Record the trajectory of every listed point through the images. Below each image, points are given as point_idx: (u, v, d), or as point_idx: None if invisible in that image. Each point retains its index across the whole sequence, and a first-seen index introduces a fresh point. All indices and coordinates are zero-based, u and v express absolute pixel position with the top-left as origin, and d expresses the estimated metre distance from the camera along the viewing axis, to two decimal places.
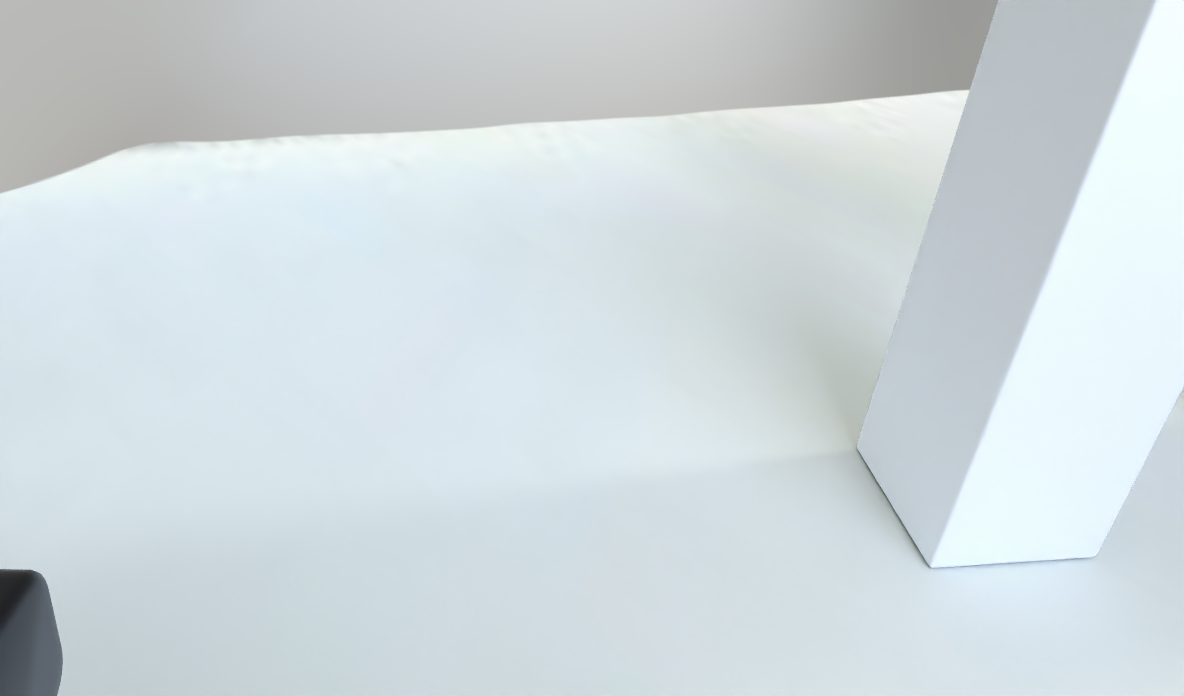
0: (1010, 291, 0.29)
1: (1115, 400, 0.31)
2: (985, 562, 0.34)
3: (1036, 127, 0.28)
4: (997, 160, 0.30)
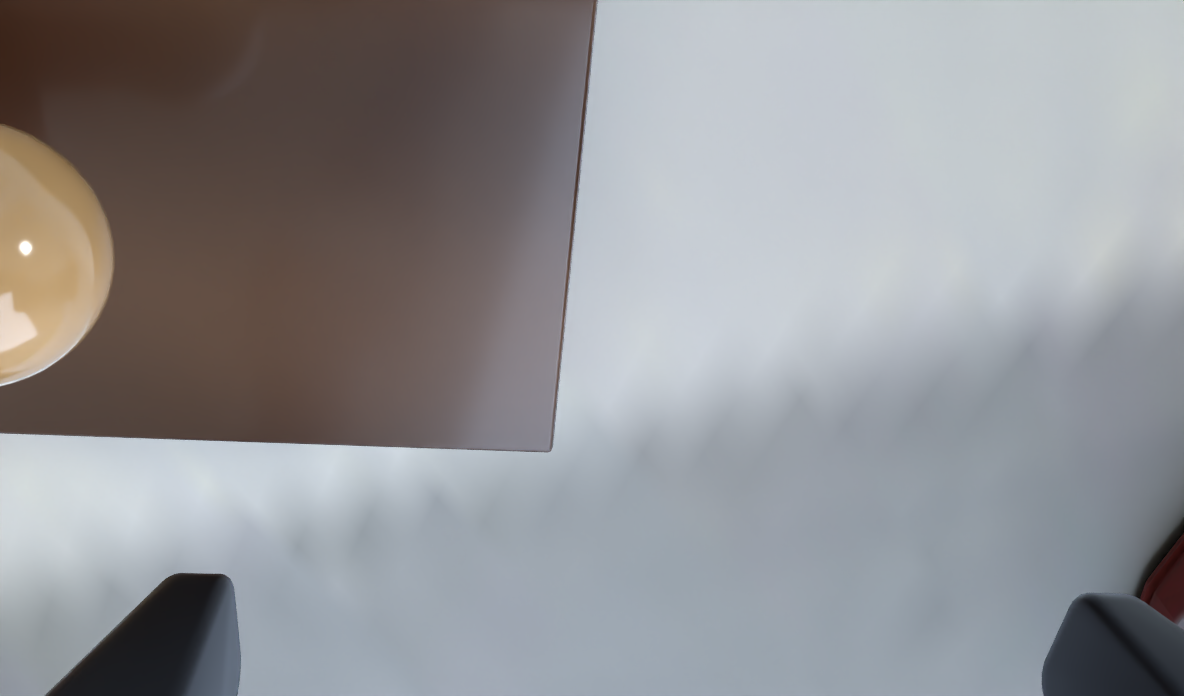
0: None
1: None
2: None
3: None
4: None
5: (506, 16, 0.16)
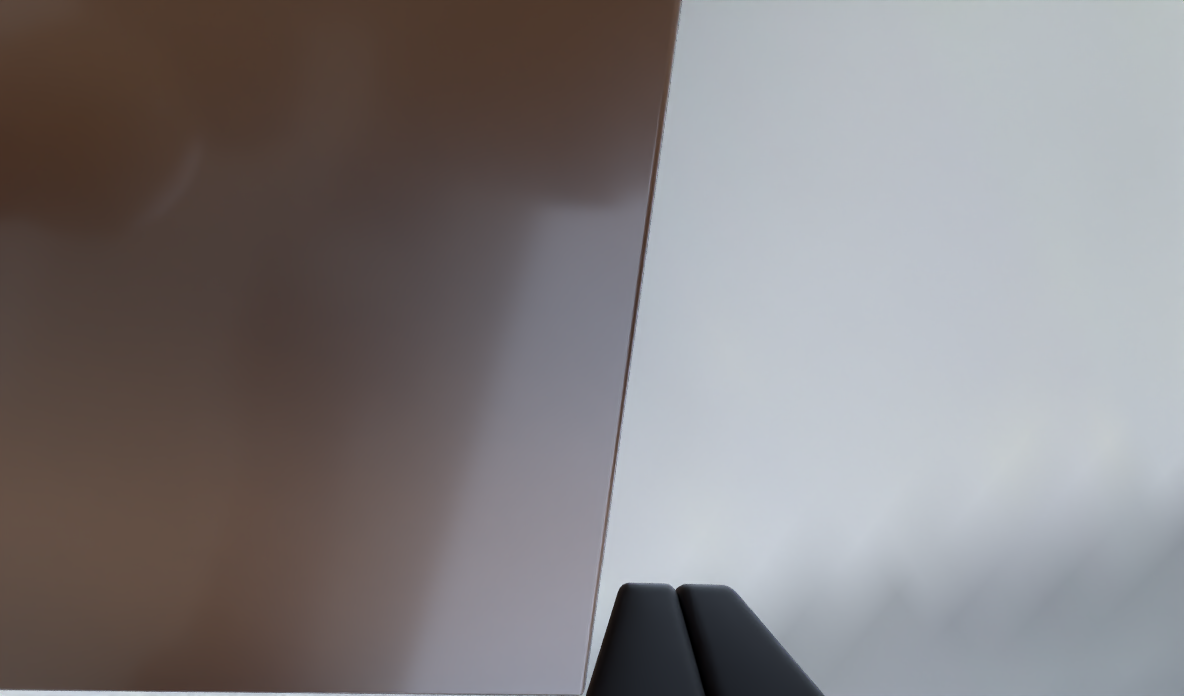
0: None
1: None
2: None
3: None
4: None
5: (530, 162, 0.11)
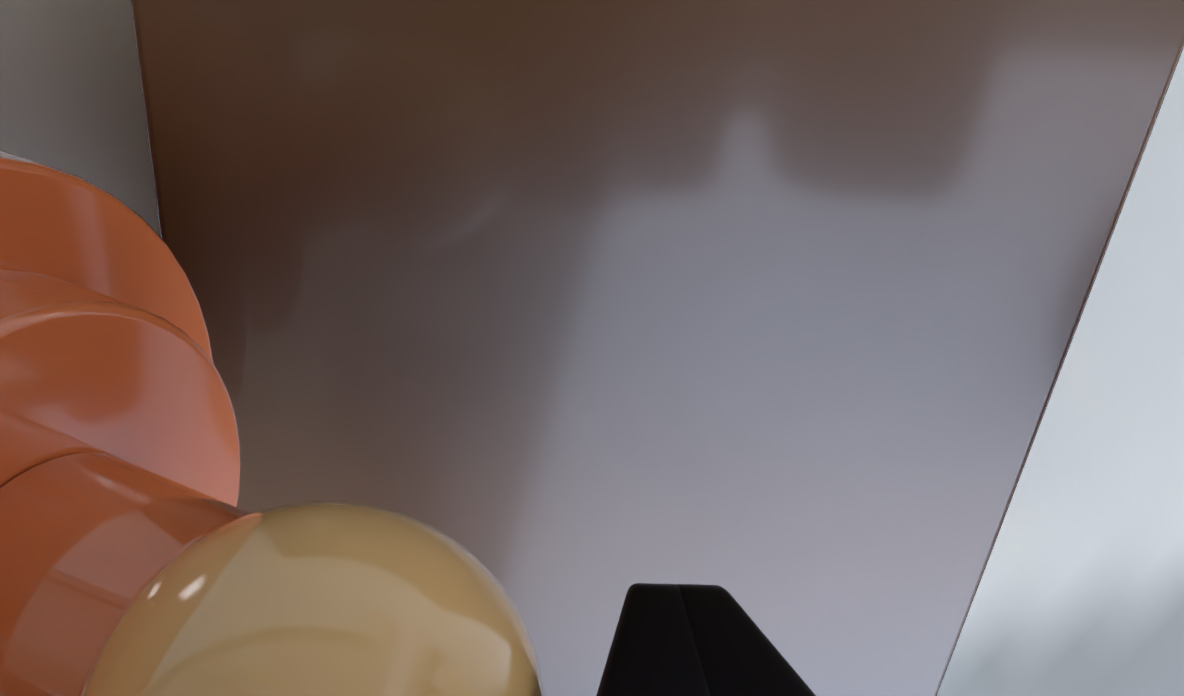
0: None
1: None
2: None
3: None
4: None
5: (1010, 204, 0.11)
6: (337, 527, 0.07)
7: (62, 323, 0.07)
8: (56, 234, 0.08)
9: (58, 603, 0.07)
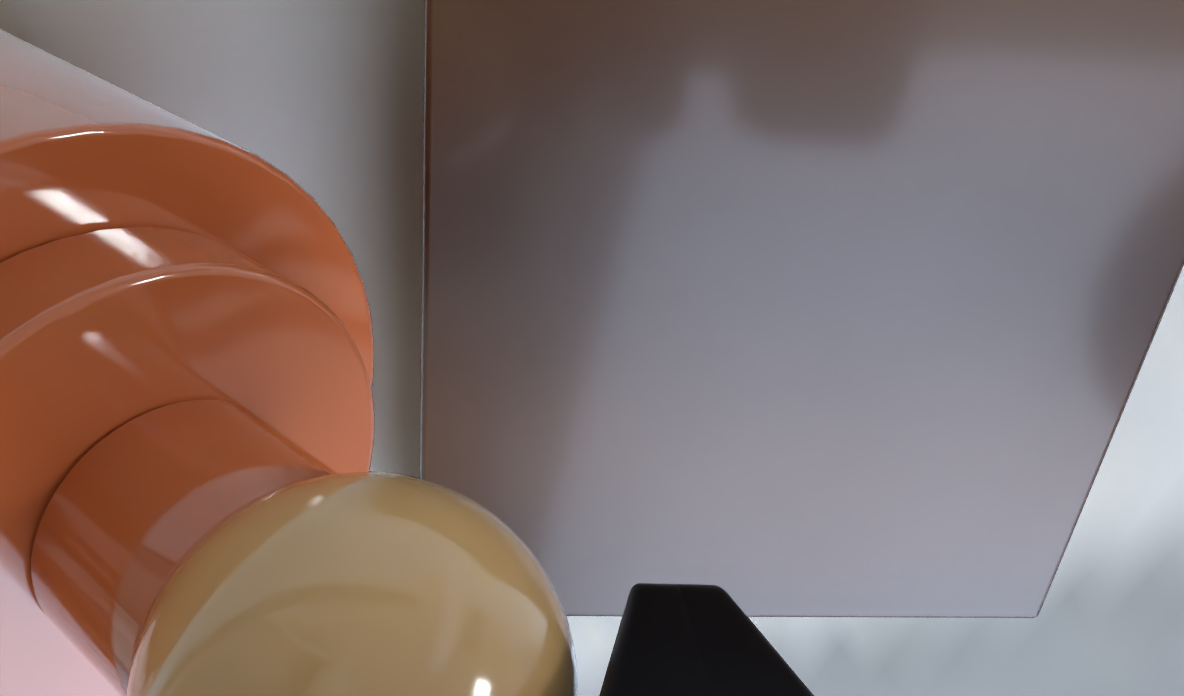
0: None
1: None
2: None
3: None
4: None
5: (1131, 162, 0.13)
6: (389, 497, 0.07)
7: (205, 280, 0.08)
8: (229, 205, 0.09)
9: (149, 525, 0.07)
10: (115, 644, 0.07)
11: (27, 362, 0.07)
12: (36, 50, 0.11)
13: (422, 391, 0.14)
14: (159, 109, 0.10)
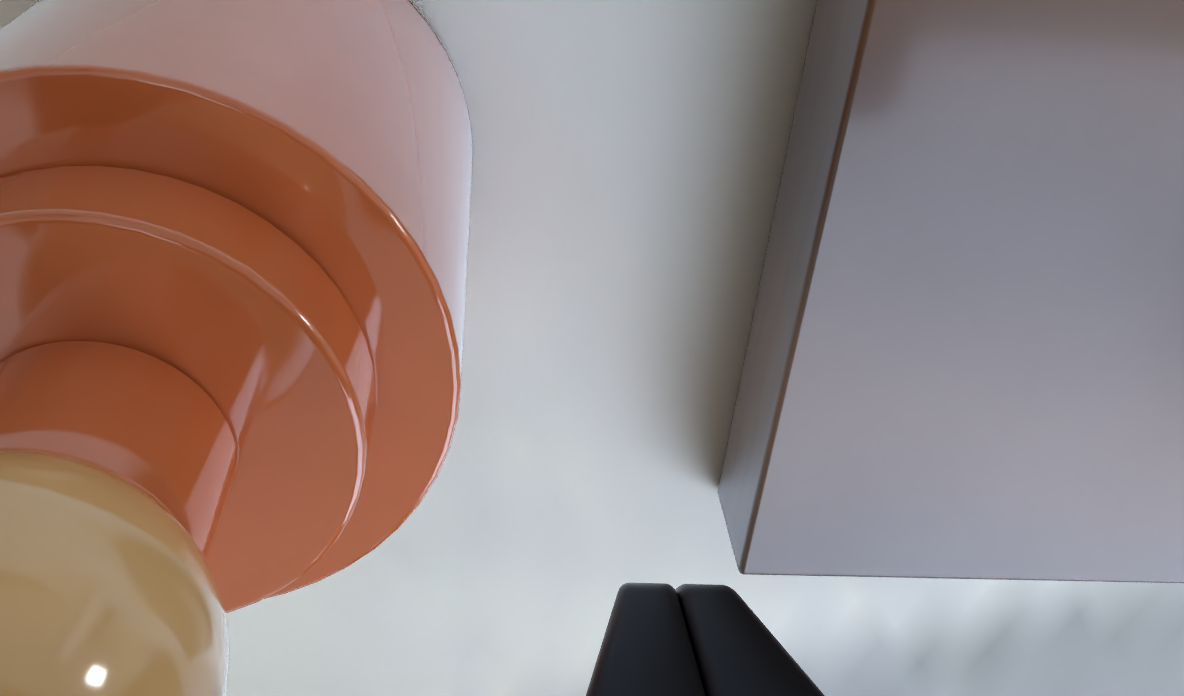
0: None
1: None
2: None
3: None
4: None
5: None
6: (4, 500, 0.07)
7: (148, 240, 0.08)
8: (282, 187, 0.09)
9: None
10: None
11: None
12: (319, 15, 0.12)
13: (787, 361, 0.15)
14: (292, 83, 0.10)
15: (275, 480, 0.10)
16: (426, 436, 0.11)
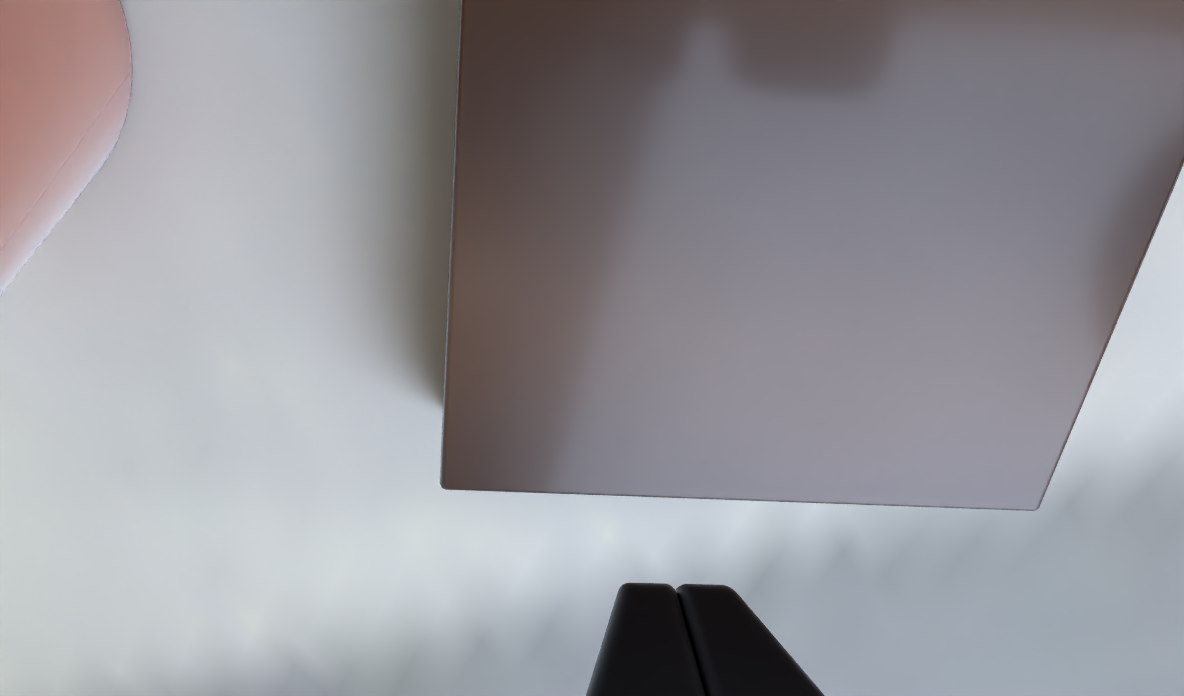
0: None
1: None
2: None
3: None
4: None
5: (1141, 43, 0.14)
6: None
7: None
8: None
9: None
10: None
11: None
12: None
13: (451, 258, 0.15)
14: None
15: None
16: None
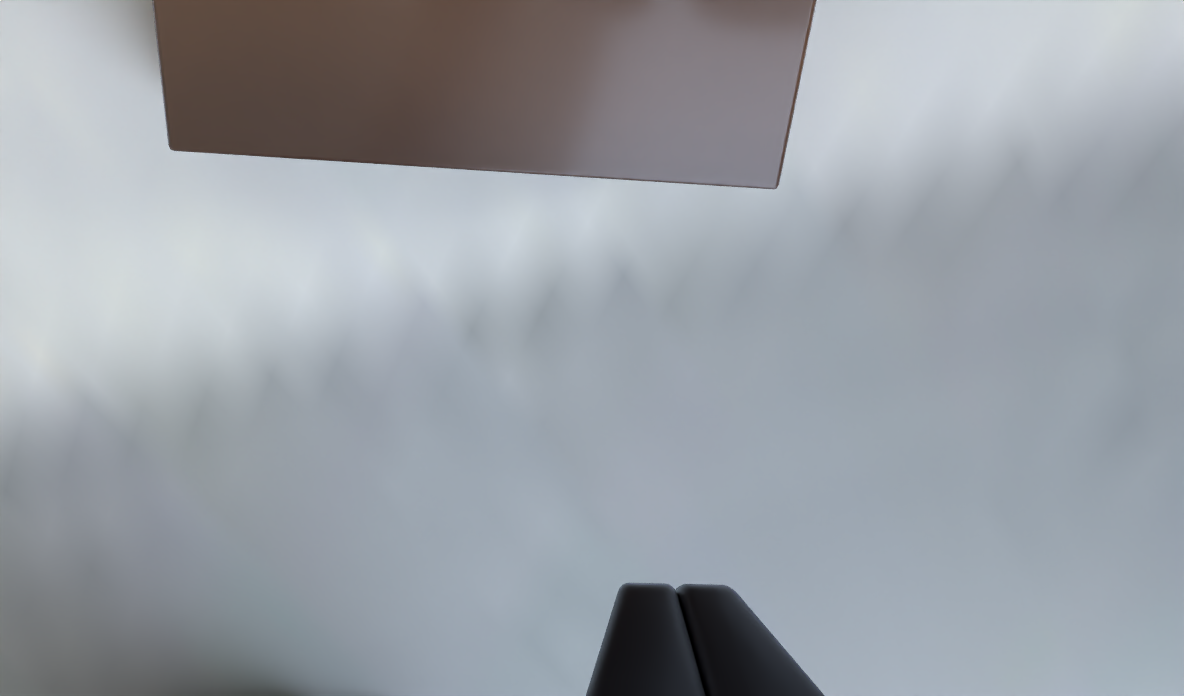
0: None
1: None
2: None
3: None
4: None
5: None
6: None
7: None
8: None
9: None
10: None
11: None
12: None
13: None
14: None
15: None
16: None
